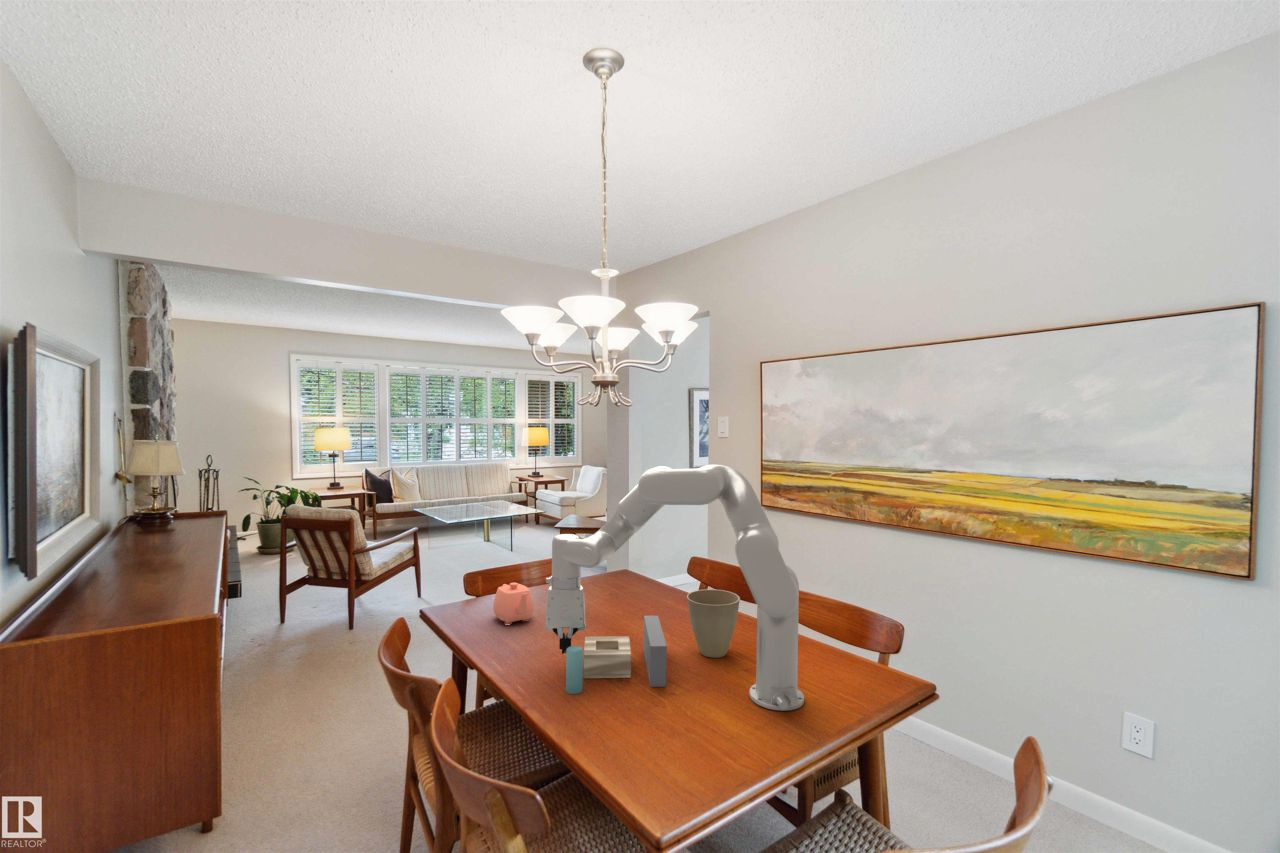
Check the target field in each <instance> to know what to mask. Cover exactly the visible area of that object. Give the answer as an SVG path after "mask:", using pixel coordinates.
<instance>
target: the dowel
mask: <svg viewBox="0 0 1280 853" xmlns="http://www.w3.org/2000/svg"><path fill="white" fill-rule="evenodd" d="M565 655H566V658H565V659H566V662H565V666H566V669H565V671H566V672H565V675H566V676H565V693H567V694H570V695H579V694H581V693H583V690H584V688H583V686H584V684H583V683H584V680H583V679H584V678H583V675H584V647H582V646H579V645H571V646H570V647H568V648H567V649H566V653H565Z"/></svg>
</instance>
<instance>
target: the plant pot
mask: <svg viewBox="0 0 1280 853" xmlns="http://www.w3.org/2000/svg"><path fill="white" fill-rule="evenodd" d="M686 599H687V601H686V602H687V608H688V614H689V619H690V623H691V627H692V630H693V635H694V637H695V641H696V643H697V647H698V649H699V653H700V654H701V655H702V656H704V657H708V658H712V659H713V658H715V659H716V658H722V657H724V656H726V655H727V653H728V650H729V648H730V645H731V642H732V640H733V639H732V638H733V636H734V633H735V632H734V631H735V628H736V624H737V619H738V614H739V608H740V601H741V600H740V599H741V597H740V596H739V595H738V594H736V593H734V592H732V591H728V590H723V589H713V588H712V589H710V588H709V589H708V588H707V589H705V588H704V589H697V590H694V591H691V592H689V593H688V594H687V595H686Z"/></svg>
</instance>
